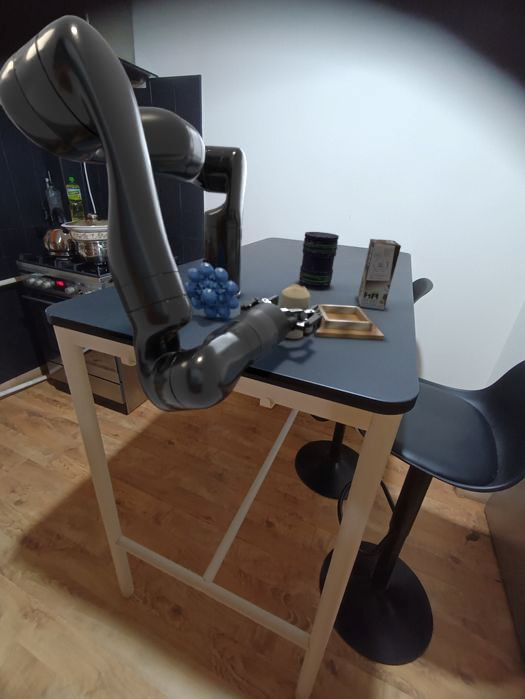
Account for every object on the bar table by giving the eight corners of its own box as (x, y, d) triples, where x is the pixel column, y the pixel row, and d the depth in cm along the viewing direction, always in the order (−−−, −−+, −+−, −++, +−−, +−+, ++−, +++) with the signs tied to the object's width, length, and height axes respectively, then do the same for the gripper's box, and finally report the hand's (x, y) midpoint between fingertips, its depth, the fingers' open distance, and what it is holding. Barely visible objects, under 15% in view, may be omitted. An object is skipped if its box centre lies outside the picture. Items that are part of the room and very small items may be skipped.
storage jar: (335, 285, 99) (344, 235, 92) (323, 292, 92) (331, 238, 85) (306, 279, 103) (313, 230, 96) (292, 285, 96) (298, 233, 89)
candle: (276, 327, 67) (280, 281, 63) (301, 328, 68) (308, 282, 63) (279, 338, 62) (284, 289, 58) (307, 339, 63) (314, 291, 58)
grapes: (180, 323, 66) (176, 265, 60) (188, 311, 72) (186, 258, 66) (235, 328, 66) (237, 270, 60) (239, 316, 72) (241, 262, 66)
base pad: (315, 336, 65) (318, 324, 63) (305, 311, 77) (307, 300, 76) (382, 340, 65) (386, 327, 64) (362, 314, 78) (364, 303, 76)
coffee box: (384, 310, 81) (402, 245, 74) (359, 307, 82) (373, 242, 75) (380, 299, 89) (395, 240, 82) (357, 296, 90) (370, 237, 83)
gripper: (300, 321, 46) (333, 293, 58) (219, 300, 51) (265, 279, 64) (294, 366, 49) (327, 330, 62) (219, 341, 55) (263, 313, 68)
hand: (296, 304), depth 63 cm, fingers open, 8 cm apart
